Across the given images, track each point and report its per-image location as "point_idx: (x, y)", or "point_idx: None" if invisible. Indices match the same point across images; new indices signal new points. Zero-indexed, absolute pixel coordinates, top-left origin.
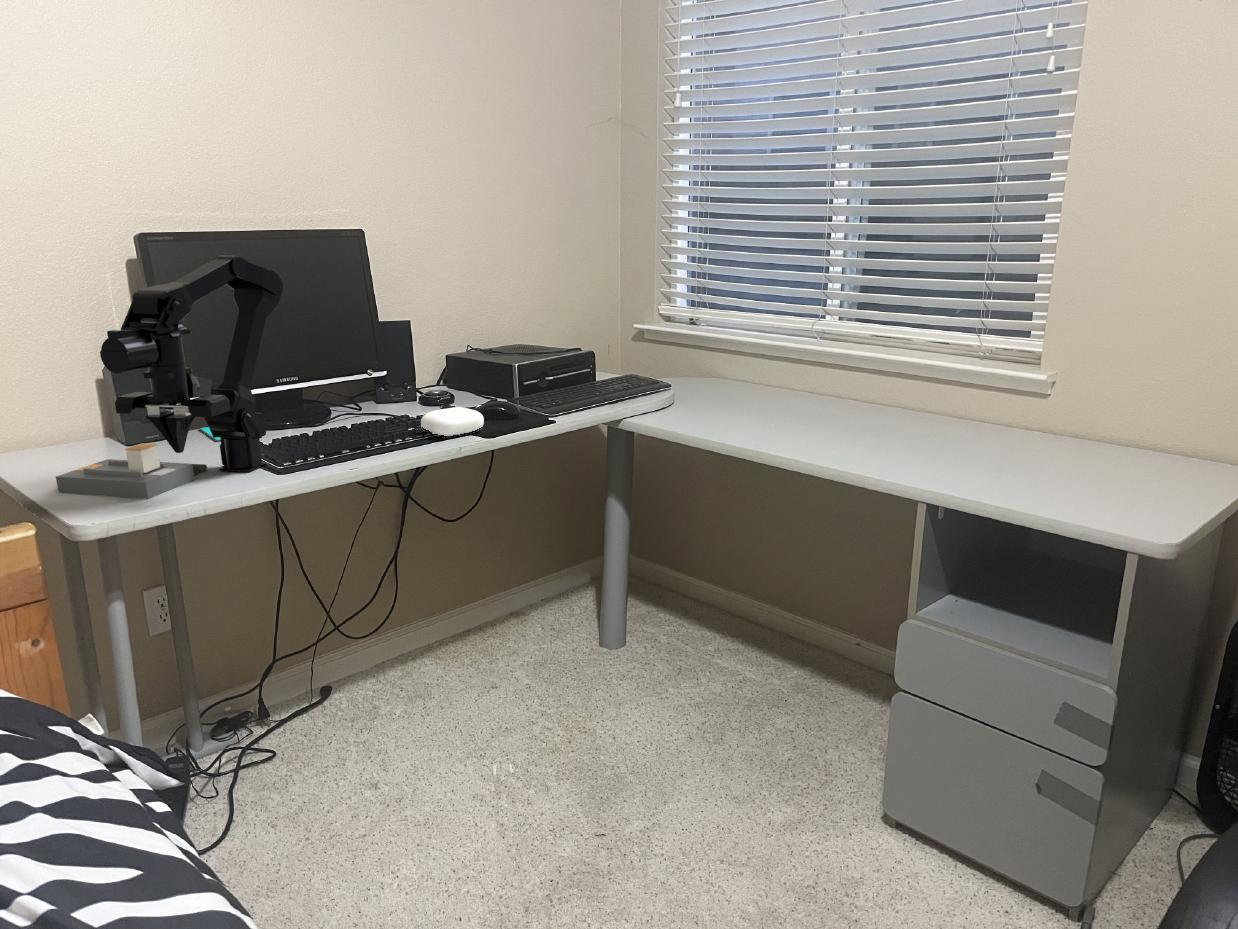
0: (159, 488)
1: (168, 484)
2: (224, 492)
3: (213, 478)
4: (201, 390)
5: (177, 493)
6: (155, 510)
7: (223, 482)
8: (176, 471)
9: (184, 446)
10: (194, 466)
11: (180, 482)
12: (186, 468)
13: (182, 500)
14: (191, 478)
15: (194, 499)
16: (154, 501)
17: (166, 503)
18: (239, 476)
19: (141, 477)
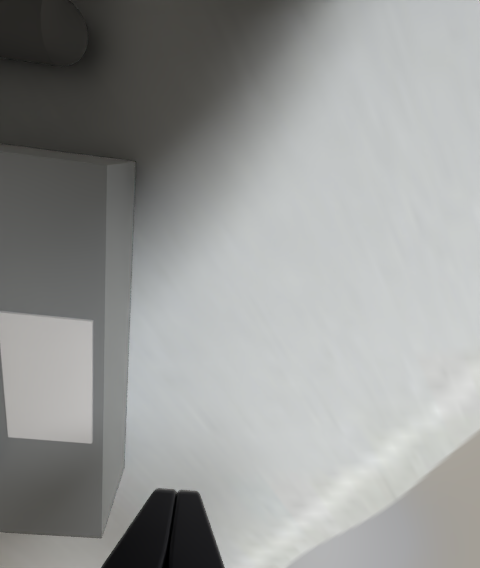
0: (119, 423)
1: (121, 370)
2: (410, 362)
3: (235, 124)
4: None
5: (199, 391)
6: (243, 561)
7: (335, 204)
8: (108, 328)
9: (210, 529)
10: (41, 22)
11: (127, 280)
12: (110, 230)
13: (278, 468)
14: (132, 187)
15: (321, 454)
16: (171, 486)
17: (235, 501)
18: (379, 65)
19: (11, 477)
